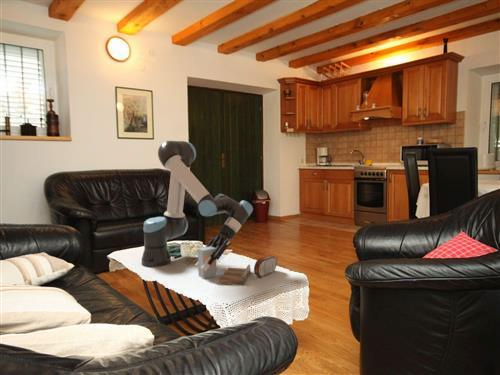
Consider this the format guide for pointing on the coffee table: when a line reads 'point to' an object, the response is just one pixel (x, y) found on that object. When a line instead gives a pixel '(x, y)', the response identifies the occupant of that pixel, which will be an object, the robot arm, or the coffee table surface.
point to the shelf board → (233, 276)
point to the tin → (265, 265)
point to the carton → (202, 258)
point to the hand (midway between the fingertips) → (200, 268)
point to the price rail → (245, 273)
